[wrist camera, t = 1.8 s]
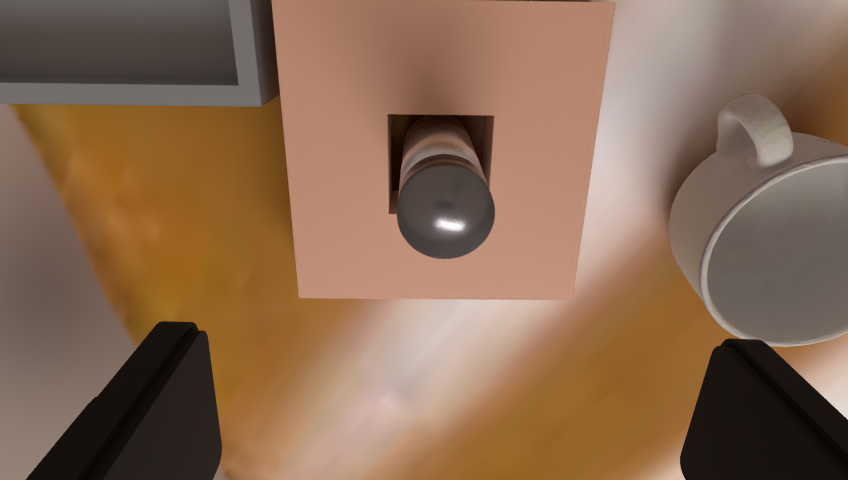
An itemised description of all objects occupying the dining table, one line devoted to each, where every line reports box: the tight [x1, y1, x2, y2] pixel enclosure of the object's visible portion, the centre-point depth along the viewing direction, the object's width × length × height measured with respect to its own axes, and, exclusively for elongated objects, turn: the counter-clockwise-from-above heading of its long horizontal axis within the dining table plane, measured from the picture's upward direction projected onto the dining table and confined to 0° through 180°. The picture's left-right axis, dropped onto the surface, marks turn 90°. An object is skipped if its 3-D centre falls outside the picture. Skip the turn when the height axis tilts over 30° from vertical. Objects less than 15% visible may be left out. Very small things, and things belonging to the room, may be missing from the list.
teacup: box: [668, 93, 848, 347], centre depth 29 cm, size 14×11×8 cm
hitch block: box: [272, 0, 615, 300], centre depth 30 cm, size 16×16×4 cm
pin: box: [397, 115, 495, 259], centre depth 27 cm, size 4×4×11 cm
